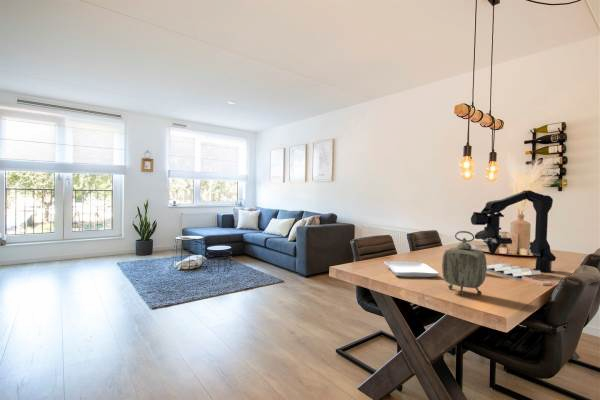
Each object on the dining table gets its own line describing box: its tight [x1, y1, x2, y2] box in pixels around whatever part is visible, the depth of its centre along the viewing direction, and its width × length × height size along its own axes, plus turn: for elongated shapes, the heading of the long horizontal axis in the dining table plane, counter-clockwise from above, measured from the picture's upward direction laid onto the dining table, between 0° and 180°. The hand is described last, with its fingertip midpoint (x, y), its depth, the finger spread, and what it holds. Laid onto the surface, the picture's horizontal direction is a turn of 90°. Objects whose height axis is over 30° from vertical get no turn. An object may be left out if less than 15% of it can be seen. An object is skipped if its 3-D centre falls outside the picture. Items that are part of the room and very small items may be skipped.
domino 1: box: [486, 263, 511, 269], centre depth 160 cm, size 5×2×10 cm
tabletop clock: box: [441, 230, 488, 296], centre depth 123 cm, size 14×9×25 cm, turn 48°
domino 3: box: [504, 267, 531, 274], centre depth 149 cm, size 5×2×10 cm
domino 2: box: [494, 265, 520, 271], centre depth 155 cm, size 5×2×10 cm
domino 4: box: [512, 270, 542, 277], centre depth 144 cm, size 5×2×10 cm
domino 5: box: [522, 275, 553, 287], centre depth 140 cm, size 5×2×10 cm
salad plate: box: [383, 261, 440, 278], centre depth 155 cm, size 21×21×3 cm
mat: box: [486, 269, 524, 281], centre depth 156 cm, size 12×26×1 cm, turn 12°
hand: (492, 254), depth 164 cm, fingers closed
